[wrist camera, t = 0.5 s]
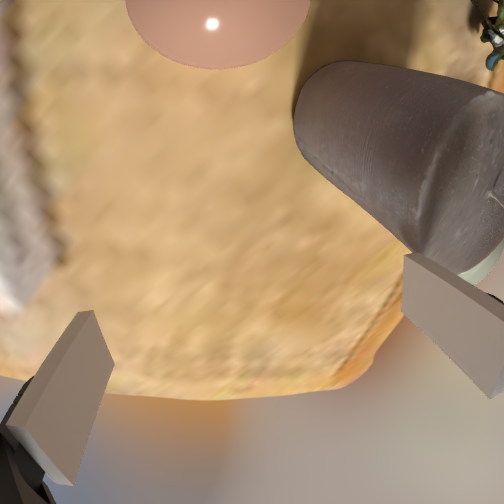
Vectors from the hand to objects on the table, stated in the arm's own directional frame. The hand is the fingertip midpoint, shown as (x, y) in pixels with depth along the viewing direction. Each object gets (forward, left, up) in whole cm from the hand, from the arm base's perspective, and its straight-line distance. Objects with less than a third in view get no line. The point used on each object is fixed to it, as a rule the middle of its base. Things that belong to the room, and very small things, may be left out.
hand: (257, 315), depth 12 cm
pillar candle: (-3, +11, -14) cm, 18 cm away
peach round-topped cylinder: (-12, +1, -14) cm, 19 cm away
